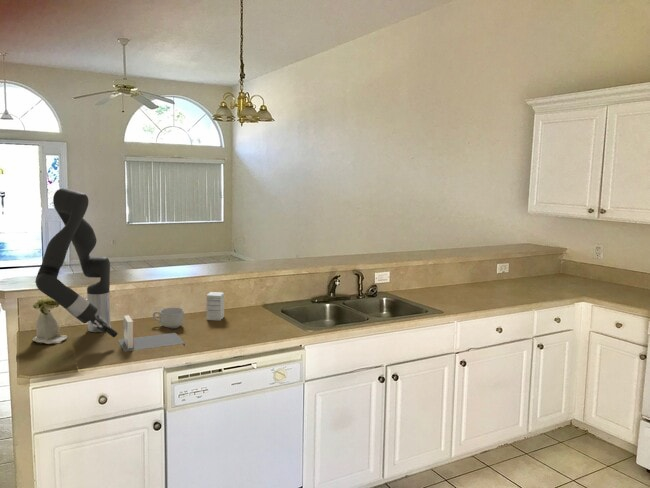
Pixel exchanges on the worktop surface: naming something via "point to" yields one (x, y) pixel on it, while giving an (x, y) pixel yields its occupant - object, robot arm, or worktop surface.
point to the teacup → (170, 317)
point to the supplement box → (215, 306)
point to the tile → (128, 331)
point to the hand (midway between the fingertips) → (115, 335)
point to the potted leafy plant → (47, 322)
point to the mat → (153, 341)
